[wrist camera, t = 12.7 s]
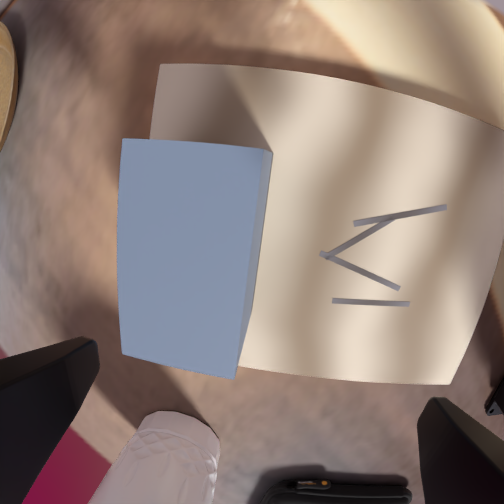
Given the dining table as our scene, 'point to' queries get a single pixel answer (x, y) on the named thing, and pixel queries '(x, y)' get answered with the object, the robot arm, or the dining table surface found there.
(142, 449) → the white cup
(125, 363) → the dining table surface
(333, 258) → the board
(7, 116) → the plant saucer
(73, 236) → the dining table surface
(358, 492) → the carrying case or bag
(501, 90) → the dining table surface
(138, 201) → the block
